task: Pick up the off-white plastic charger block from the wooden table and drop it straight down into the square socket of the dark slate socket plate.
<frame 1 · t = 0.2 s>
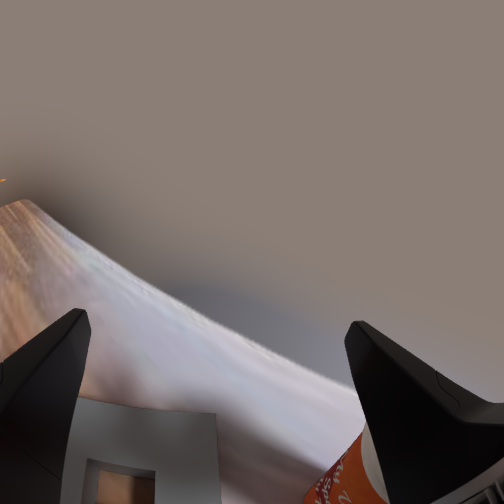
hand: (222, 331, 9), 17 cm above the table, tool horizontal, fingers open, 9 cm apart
socket plate: (127, 502, 13), on the table
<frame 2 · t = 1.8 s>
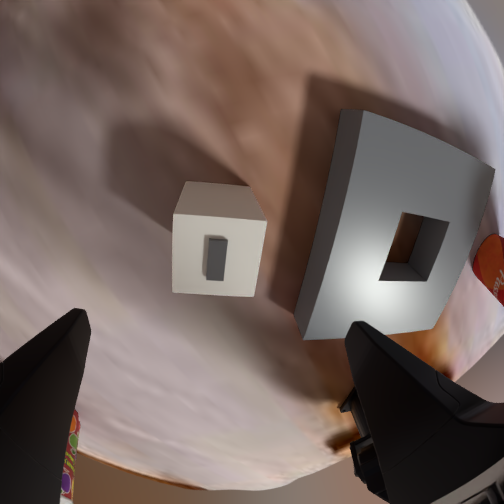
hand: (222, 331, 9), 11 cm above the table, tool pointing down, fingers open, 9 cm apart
paper cup: (486, 255, 24), on the table
socket plate: (395, 233, 20), on the table
smoothie: (60, 406, 27), on the table
charger block: (214, 213, 18), on the table
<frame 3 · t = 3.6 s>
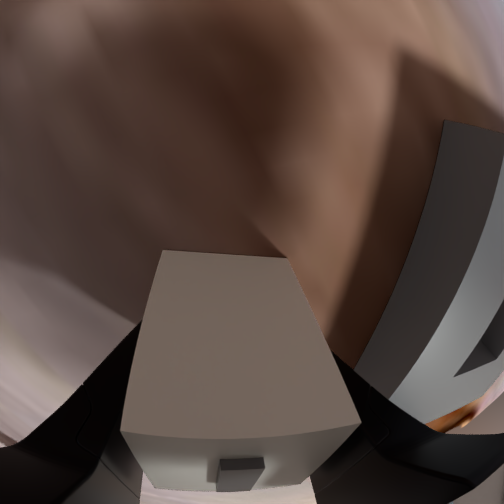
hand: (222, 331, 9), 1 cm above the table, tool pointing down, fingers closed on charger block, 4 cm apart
socket plate: (471, 300, 12), on the table
charger block: (220, 304, 10), on the table, touching gripper
when the fingers open (4 cm above the table, at t = 8.4 s): charger block drops 2 cm, resting in socket plate.
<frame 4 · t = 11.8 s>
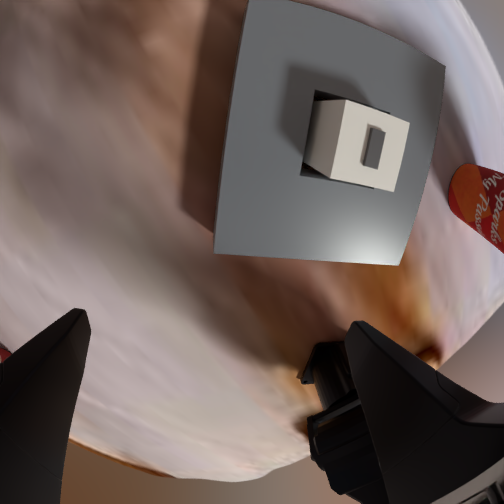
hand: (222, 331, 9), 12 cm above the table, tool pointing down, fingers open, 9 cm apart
paper cup: (464, 190, 21), on the table
socket plate: (329, 136, 18), on the table
charger block: (328, 135, 18), resting in socket plate
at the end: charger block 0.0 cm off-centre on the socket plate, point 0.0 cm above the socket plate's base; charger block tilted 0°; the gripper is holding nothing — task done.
